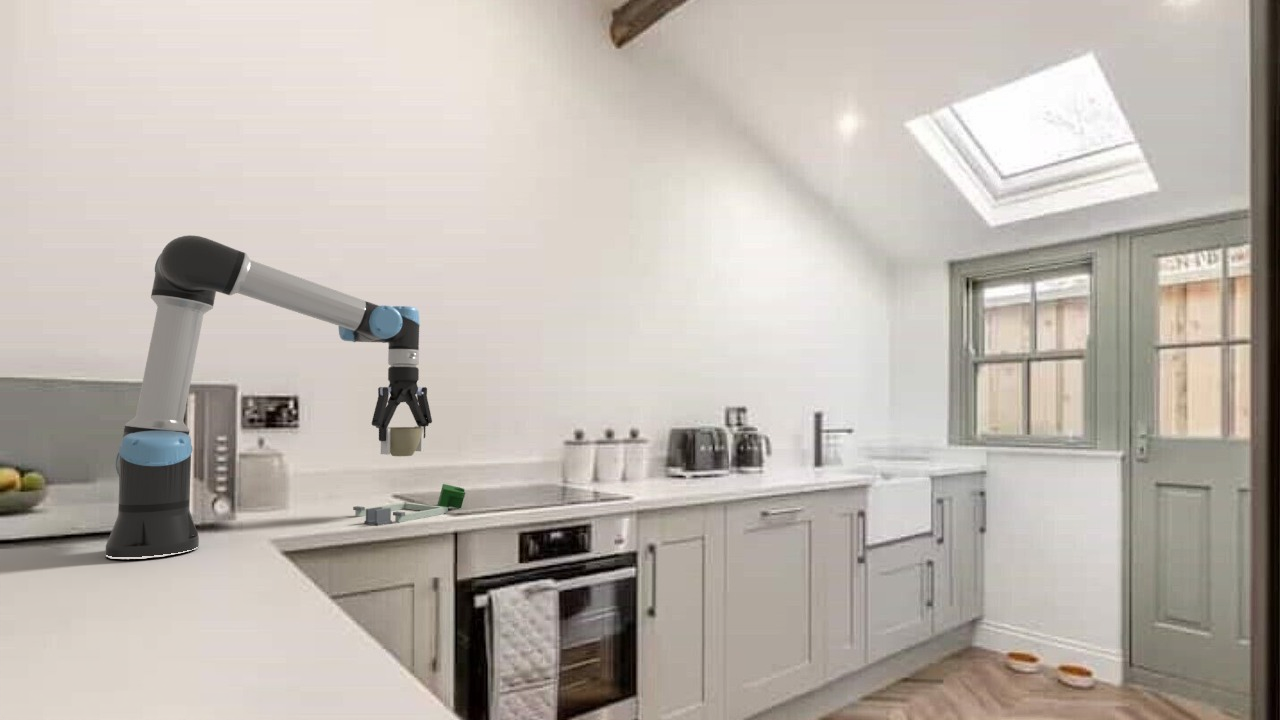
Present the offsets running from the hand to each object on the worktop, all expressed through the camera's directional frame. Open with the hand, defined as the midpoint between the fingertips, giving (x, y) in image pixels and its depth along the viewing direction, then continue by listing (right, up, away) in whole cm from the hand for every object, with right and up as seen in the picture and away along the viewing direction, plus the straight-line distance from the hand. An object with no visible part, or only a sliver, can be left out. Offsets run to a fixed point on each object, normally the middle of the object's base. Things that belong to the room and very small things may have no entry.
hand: (402, 452), depth 184 cm
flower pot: (0, -1, 0) cm, 1 cm away
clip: (-2, -15, -12) cm, 20 cm away
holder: (0, -16, -1) cm, 16 cm away
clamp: (+9, -17, +12) cm, 23 cm away
